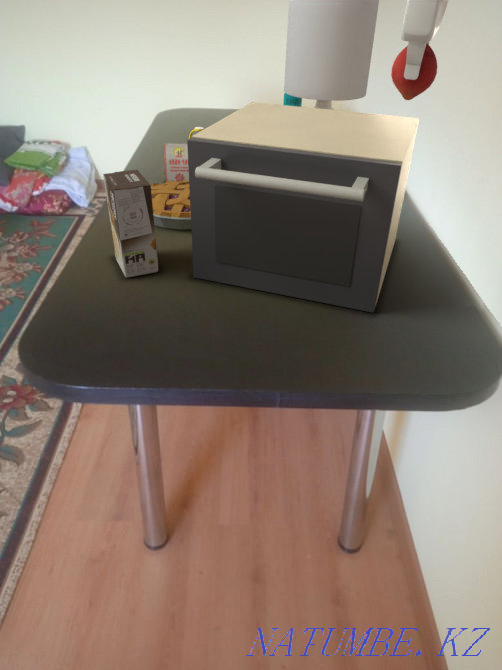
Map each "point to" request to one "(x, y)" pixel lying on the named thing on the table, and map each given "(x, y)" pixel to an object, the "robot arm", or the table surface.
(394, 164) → the oven door
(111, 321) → the table surface
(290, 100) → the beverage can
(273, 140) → the oven
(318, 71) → the lamp
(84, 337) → the table surface
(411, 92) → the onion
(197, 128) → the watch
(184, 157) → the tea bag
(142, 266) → the coffee box
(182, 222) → the pie
